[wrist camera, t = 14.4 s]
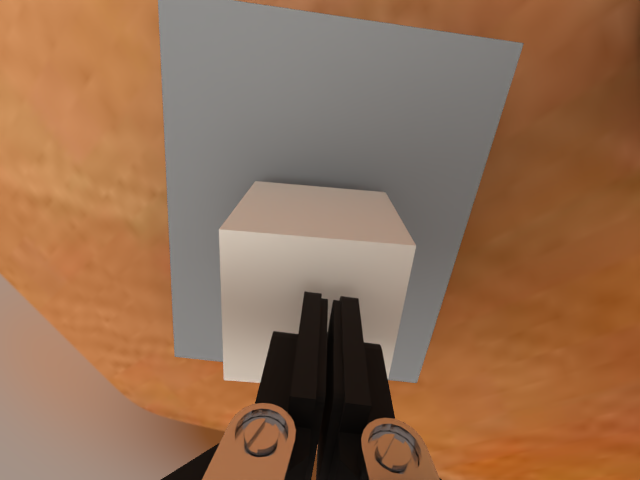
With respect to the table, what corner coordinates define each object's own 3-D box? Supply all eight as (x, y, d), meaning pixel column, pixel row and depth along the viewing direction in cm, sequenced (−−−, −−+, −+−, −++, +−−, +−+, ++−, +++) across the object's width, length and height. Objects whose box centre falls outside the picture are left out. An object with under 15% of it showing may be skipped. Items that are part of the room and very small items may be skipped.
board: (502, 48, 17) (523, 43, 16) (410, 361, 25) (416, 383, 23) (175, 0, 17) (157, -11, 15) (185, 336, 25) (174, 356, 23)
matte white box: (385, 192, 16) (416, 245, 11) (367, 302, 19) (385, 392, 13) (255, 181, 16) (219, 229, 11) (254, 293, 18) (224, 380, 13)
